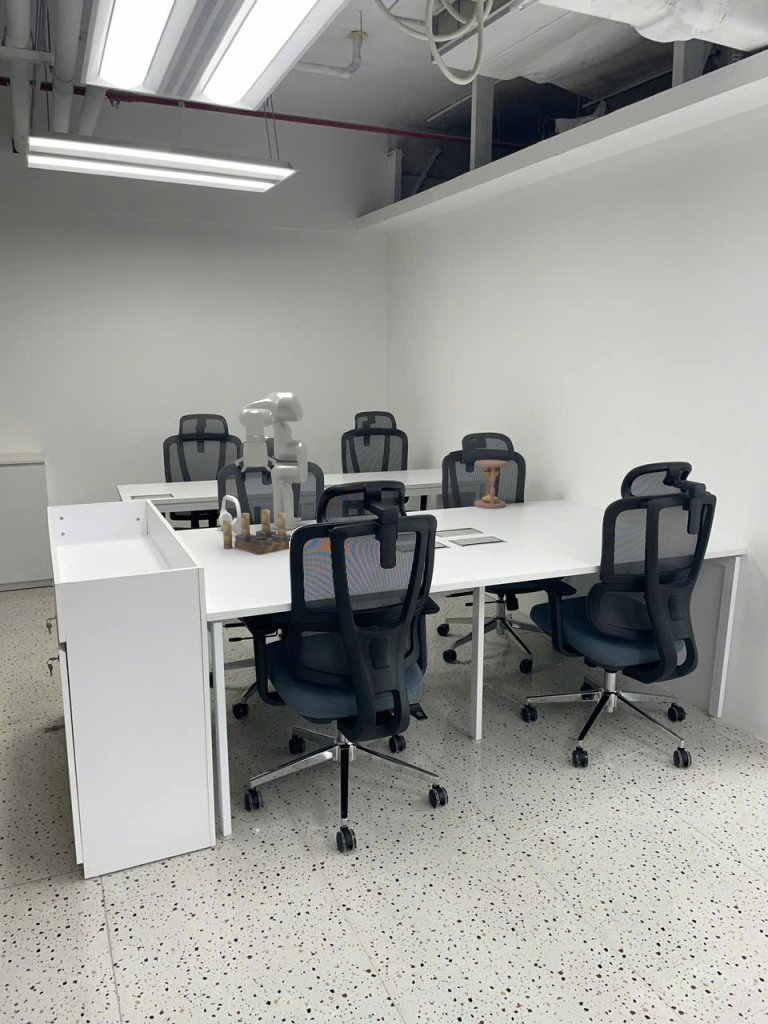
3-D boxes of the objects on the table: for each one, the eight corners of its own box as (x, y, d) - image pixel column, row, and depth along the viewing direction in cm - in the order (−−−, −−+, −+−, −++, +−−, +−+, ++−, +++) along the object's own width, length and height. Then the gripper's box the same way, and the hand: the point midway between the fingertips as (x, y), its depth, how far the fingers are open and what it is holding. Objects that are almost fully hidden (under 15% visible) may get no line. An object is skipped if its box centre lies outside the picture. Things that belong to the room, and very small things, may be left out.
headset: (247, 536, 348) (246, 498, 344) (232, 538, 344) (231, 499, 341) (230, 528, 364) (229, 492, 361) (216, 530, 360) (214, 493, 357)
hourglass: (505, 509, 414) (506, 464, 409) (473, 508, 417) (474, 463, 412) (505, 503, 431) (507, 460, 426) (475, 502, 434) (476, 459, 429)
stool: (267, 540, 338) (266, 508, 336) (293, 547, 326) (292, 513, 323) (234, 547, 326) (233, 513, 323) (260, 554, 314) (259, 519, 311)
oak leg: (229, 546, 328) (228, 519, 326) (234, 547, 326) (232, 520, 323) (222, 547, 326) (221, 520, 323) (227, 549, 323) (225, 521, 321)
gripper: (275, 438, 319) (276, 478, 322) (233, 439, 315) (235, 480, 319) (276, 440, 312) (277, 481, 315) (234, 441, 308) (235, 482, 311)
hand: (256, 480), depth 317 cm, fingers open, 9 cm apart
